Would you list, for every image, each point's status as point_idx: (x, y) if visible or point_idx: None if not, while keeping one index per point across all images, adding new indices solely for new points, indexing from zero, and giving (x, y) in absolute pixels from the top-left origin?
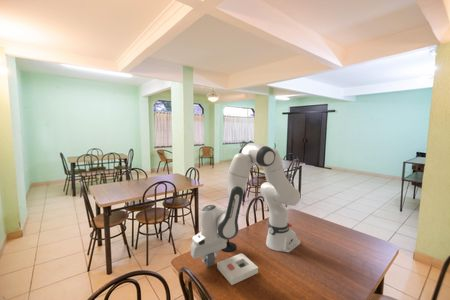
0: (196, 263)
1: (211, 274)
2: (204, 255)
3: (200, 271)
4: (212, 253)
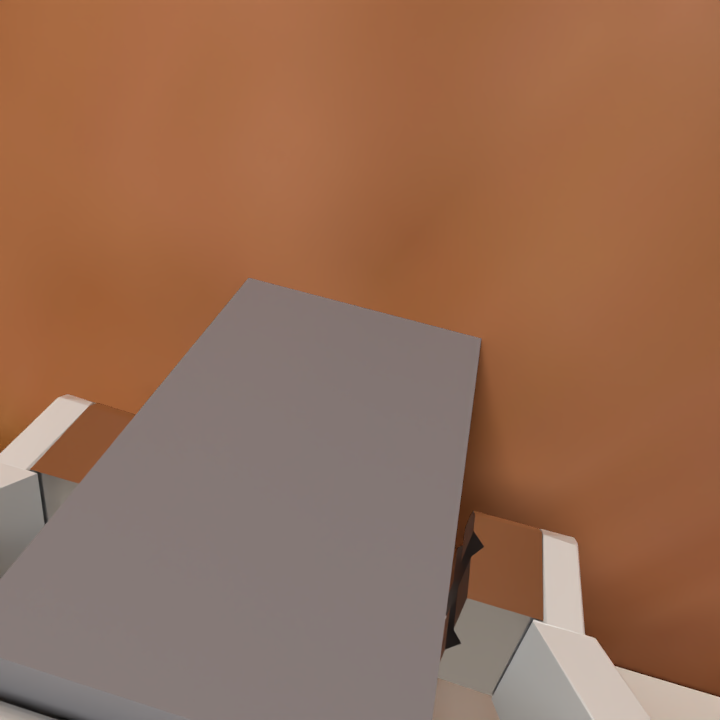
0: (23, 105)
1: None
2: (111, 450)
3: (28, 422)
4: None
